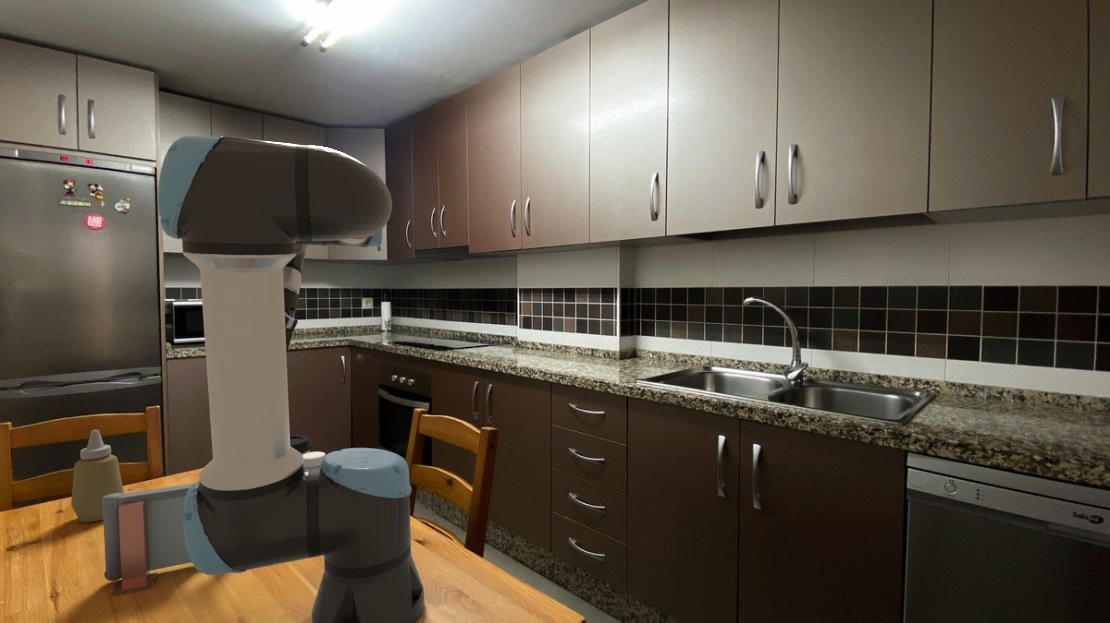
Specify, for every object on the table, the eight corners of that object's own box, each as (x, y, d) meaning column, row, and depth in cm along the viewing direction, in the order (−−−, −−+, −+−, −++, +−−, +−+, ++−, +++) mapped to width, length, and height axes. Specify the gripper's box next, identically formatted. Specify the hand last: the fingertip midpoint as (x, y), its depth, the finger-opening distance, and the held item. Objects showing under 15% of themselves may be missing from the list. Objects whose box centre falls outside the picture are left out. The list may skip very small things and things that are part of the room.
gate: (224, 554, 89) (221, 477, 88) (222, 560, 87) (219, 482, 86) (108, 577, 82) (104, 494, 81) (103, 585, 80) (99, 500, 79)
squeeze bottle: (114, 521, 102) (110, 433, 101) (63, 529, 99) (58, 438, 98) (131, 505, 110) (127, 423, 109) (83, 512, 107) (79, 427, 106)
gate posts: (248, 549, 91) (245, 462, 90) (244, 568, 85) (241, 474, 84) (124, 574, 83) (120, 478, 83) (110, 596, 78) (105, 493, 77)
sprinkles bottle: (303, 527, 100) (301, 459, 99) (301, 518, 104) (299, 453, 103) (328, 521, 102) (326, 455, 101) (325, 512, 106) (324, 449, 105)
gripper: (315, 289, 101) (299, 407, 92) (276, 306, 107) (258, 418, 98) (279, 276, 95) (258, 400, 86) (240, 295, 101) (217, 412, 92)
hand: (258, 410), depth 92 cm, fingers closed
